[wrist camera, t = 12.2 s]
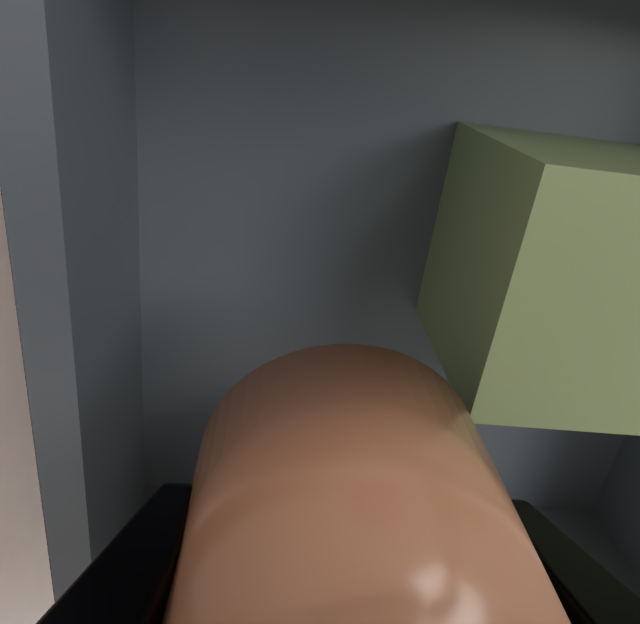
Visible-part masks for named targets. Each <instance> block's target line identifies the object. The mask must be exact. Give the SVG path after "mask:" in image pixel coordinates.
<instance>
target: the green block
mask: <svg viewBox="0 0 640 624" xmlns="http://www.w3.org/2000/svg"><path fill="white" fill-rule="evenodd" d="M416 312H417V315H418V317H419V319H420V321H421V323H422V325H423V327H424V330H425V332H426V334H427V336H428V338H429V340H430V342H431V345H432V347H433V349H434V351H435V353H436V355H437V358H438V360H439V362H440V364H441V366H442V368H443V370H444V373H445V375H446V377H447V379H448V381H449V383H450V385H451V386H452V387H453V388H454V389H455V390H456V392H457V393H458V394H459V396H460V397H461V399H462V400H463V402H464V403H465V406H466V408H467V410H468V412H469V414H470V416H471V418H472V420H473V422H474V424H488V425H501V426H515V427H528V428H542V429H555V430H569V431H582V432H596V433H609V434H623V435H636V436H640V145H636V144H628V143H620V142H613V141H605V140H597V139H589V138H582V137H574V136H566V135H559V134H551V133H543V132H536V131H528V130H520V129H513V128H505V127H497V126H489V125H482V124H474V123H466V122H459V121H458V123H457V128H456V132H455V137H454V141H453V146H452V150H451V155H450V159H449V163H448V168H447V172H446V177H445V181H444V186H443V190H442V195H441V199H440V204H439V208H438V213H437V217H436V221H435V226H434V230H433V235H432V239H431V244H430V248H429V253H428V257H427V262H426V266H425V271H424V275H423V280H422V284H421V289H420V293H419V298H418V302H417V307H416Z"/></svg>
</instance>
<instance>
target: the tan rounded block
mask: <svg viewBox="0 0 640 624" xmlns="http://www.w3.org/2000/svg"><path fill="white" fill-rule="evenodd" d="M192 484H193V487H192V492H191V497H190V502H189V507H188V512H187V517H186V521H185V526H184V531H183V535H182V540H181V545H180V549H179V554H178V558H177V562H176V567H175V570H174V575H173V579H172V583H171V587H170V591H169V595H168V599H167V603H166V607H165V611H164V615H163V619H162V623H161V624H571V622H570V620H569V618H568V616H567V614H566V612H565V610H564V608H563V606H562V604H561V602H560V600H559V598H558V595H557V593H556V591H555V589H554V587H553V585H552V583H551V581H550V579H549V577H548V575H547V573H546V571H545V569H544V567H543V565H542V562H541V560H540V558H539V556H538V554H537V552H536V550H535V548H534V546H533V544H532V542H531V540H530V538H529V536H528V534H527V531H526V529H525V527H524V525H523V523H522V521H521V519H520V517H519V515H518V513H517V511H516V509H515V507H514V505H513V503H512V501H511V498H510V496H509V494H508V492H507V490H506V488H505V486H504V484H503V482H502V480H501V478H500V476H499V474H498V472H497V470H496V467H495V465H494V463H493V461H492V459H491V457H490V455H489V453H488V451H487V449H486V447H485V445H484V443H483V441H482V439H481V437H480V434H479V432H478V430H477V428H476V426H475V424H474V422H473V420H472V418H471V416H470V414H469V412H468V410H467V408H466V406H465V403H464V402H463V400H462V399H461V397H460V396H459V394H458V393H457V392H456V390H455V389H454V388H453V387H452V386H451V385H450V384H449V383H448V382H447V381H446V380H445V379H444V378H443V377H442V376H441V375H440V374H438V373H437V372H436V371H434V370H433V369H432V368H430V367H429V366H427V365H425V364H423V363H422V362H420V361H418V360H416V359H415V358H412V357H410V356H407V355H405V354H402V353H400V352H397V351H393V350H390V349H386V348H382V347H377V346H370V345H363V344H329V345H319V346H314V347H310V348H305V349H300V350H297V351H294V352H291V353H288V354H285V355H282V356H280V357H277V358H275V359H273V360H271V361H269V362H267V363H265V364H263V365H261V366H260V367H258V368H256V369H255V370H253V371H252V372H250V373H249V374H247V375H246V376H245V377H243V378H242V379H241V380H240V381H239V382H237V383H236V384H235V385H234V386H233V387H232V388H231V389H230V390H229V391H228V392H227V393H226V395H225V396H224V397H223V398H222V399H221V401H220V402H219V403H218V405H217V406H216V408H215V409H214V411H213V412H212V415H211V417H210V419H209V421H208V423H207V425H206V428H205V431H204V435H203V438H202V442H201V446H200V451H199V455H198V460H197V464H196V469H195V473H194V478H193V482H192Z"/></svg>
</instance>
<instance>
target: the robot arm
mask: <svg viewBox="0 0 640 624" xmlns="http://www.w3.org/2000/svg"><path fill="white" fill-rule="evenodd" d="M192 487H193V484H191V483H186V482H165V483H163V484H162V485H161V486H160V487H159V488H158V489H157V490H156V491H155V492H154V493H153V494H152V496H151V497H150V498H149V499H148V500H147V501H146V502H145V503H144V504H143V506H142V507H141V508H140V509H139V510H138V511H137V512H136V513H135V514H134V516H133V517H132V518H131V519H130V520H129V521H128V522H127V523H126V524H125V525H124V527H123V528H122V529H121V530H120V531H119V532H118V533H117V534H116V535H115V537H114V538H113V539H112V540H111V541H110V542H109V543H108V544H107V545H106V547H105V548H104V549H103V550H102V551H101V552H100V553H99V554H98V555H97V557H96V558H95V559H94V560H93V561H92V562H91V563H90V564H89V565H88V567H87V568H86V569H85V570H84V571H83V572H82V573H81V574H80V575H79V576H78V578H77V579H76V580H75V581H74V582H73V583H72V584H71V585H70V586H69V588H68V589H67V590H66V591H65V592H64V593H63V594H62V595H61V596H60V598H59V599H58V600H57V601H56V602H55V603H54V604H53V605H52V606H51V608H50V609H49V610H48V611H47V612H46V613H45V614H44V615H43V616H42V618H41V619H40V620H39V621H38V622H37V623H36V624H161V623H162V619H163V615H164V611H165V607H166V603H167V599H168V595H169V591H170V587H171V583H172V579H173V575H174V570H175V567H176V562H177V558H178V554H179V549H180V545H181V540H182V535H183V531H184V526H185V521H186V517H187V512H188V507H189V502H190V497H191V492H192ZM511 501H512V503H513V505H514V507H515V509H516V511H517V513H518V515H519V517H520V519H521V521H522V523H523V525H524V527H525V529H526V531H527V534H528V536H529V538H530V540H531V542H532V544H533V546H534V548H535V550H536V552H537V554H538V556H539V558H540V560H541V562H542V565H543V567H544V569H545V571H546V573H547V575H548V577H549V579H550V581H551V583H552V585H553V587H554V589H555V591H556V593H557V595H558V598H559V600H560V602H561V604H562V606H563V608H564V610H565V612H566V614H567V616H568V618H569V620H570V622H571V624H640V598H639V597H638V596H637V595H636V594H635V593H634V592H632V591H631V590H630V589H629V588H628V587H627V586H625V585H624V584H623V583H622V582H621V581H620V580H618V579H617V578H616V577H615V576H614V575H613V574H611V573H610V572H609V571H608V570H607V569H606V568H604V567H603V566H602V565H601V564H600V563H599V562H597V561H596V560H595V559H594V558H593V557H592V556H590V555H589V554H588V553H587V552H586V551H585V550H583V549H582V548H581V547H580V546H579V545H578V544H576V543H575V542H574V541H573V540H572V539H571V538H569V537H568V536H567V535H566V534H565V533H564V532H562V531H561V530H560V529H559V528H558V527H557V526H555V525H554V524H553V523H552V522H551V521H550V520H548V519H547V518H546V517H545V516H544V515H543V514H541V513H540V512H539V511H538V510H537V509H536V508H534V507H533V506H532V505H531V504H530V503H528V502H527V501H525V500H521V499H511Z"/></svg>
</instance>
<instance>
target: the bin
mask: <svg viewBox="0 0 640 624" xmlns="http://www.w3.org/2000/svg"><path fill="white" fill-rule="evenodd" d="M458 121H459V122H466V123H474V124H482V125H489V126H497V127H505V128H513V129H520V130H528V131H536V132H543V133H551V134H559V135H566V136H574V137H582V138H589V139H597V140H605V141H613V142H620V143H628V144H636V145H640V0H0V187H1V195H2V202H3V210H4V218H5V225H6V233H7V241H8V248H9V256H10V263H11V271H12V279H13V286H14V294H15V302H16V309H17V317H18V325H19V332H20V340H21V348H22V355H23V363H24V370H25V378H26V386H27V393H28V401H29V409H30V416H31V424H32V432H33V439H34V447H35V455H36V462H37V470H38V477H39V485H40V493H41V500H42V508H43V516H44V523H45V531H46V539H47V546H48V554H49V562H50V569H51V577H52V584H53V592H54V600H55V602H56V601H57V600H58V599H59V598H60V596H61V595H62V594H63V593H64V592H65V591H66V590H67V589H68V588H69V586H70V585H71V584H72V583H73V582H74V581H75V580H76V579H77V578H78V576H79V575H80V574H81V573H82V572H83V571H84V570H85V569H86V568H87V567H88V565H89V564H90V563H91V562H92V561H93V560H94V559H95V558H96V557H97V555H98V554H99V553H100V552H101V551H102V550H103V549H104V548H105V547H106V545H107V544H108V543H109V542H110V541H111V540H112V539H113V538H114V537H115V535H116V534H117V533H118V532H119V531H120V530H121V529H122V528H123V527H124V525H125V524H126V523H127V522H128V521H129V520H130V519H131V518H132V517H133V516H134V514H135V513H136V512H137V511H138V510H139V509H140V508H141V507H142V506H143V504H144V503H145V502H146V501H147V500H148V499H149V498H150V497H151V496H152V494H153V493H154V492H155V491H156V490H157V489H158V488H159V487H160V486H161V485H162V484H163V483H165V482H186V483H191V484H192V482H193V478H194V473H195V469H196V464H197V460H198V455H199V451H200V446H201V442H202V438H203V435H204V431H205V428H206V425H207V423H208V421H209V419H210V417H211V415H212V412H213V411H214V409H215V408H216V406H217V405H218V403H219V402H220V401H221V399H222V398H223V397H224V396H225V395H226V393H227V392H228V391H229V390H230V389H231V388H232V387H233V386H234V385H235V384H236V383H237V382H239V381H240V380H241V379H242V378H243V377H245V376H246V375H247V374H249V373H250V372H252V371H253V370H255V369H256V368H258V367H260V366H261V365H263V364H265V363H267V362H269V361H271V360H273V359H275V358H277V357H280V356H282V355H285V354H288V353H291V352H294V351H297V350H300V349H305V348H310V347H314V346H319V345H329V344H363V345H370V346H377V347H382V348H386V349H390V350H393V351H397V352H400V353H402V354H405V355H407V356H410V357H412V358H415V359H416V360H418V361H420V362H422V363H423V364H425V365H427V366H429V367H430V368H432V369H433V370H434V371H436V372H437V373H438V374H440V375H441V376H442V377H443V378H444V379H445V380H446V381H447V382H448V383H449V381H448V379H447V377H446V375H445V373H444V370H443V368H442V366H441V364H440V362H439V360H438V358H437V355H436V353H435V351H434V349H433V347H432V345H431V342H430V340H429V338H428V336H427V334H426V332H425V330H424V327H423V325H422V323H421V321H420V319H419V317H418V315H417V312H416V307H417V302H418V298H419V293H420V289H421V284H422V280H423V275H424V271H425V266H426V262H427V257H428V253H429V248H430V244H431V239H432V235H433V230H434V226H435V221H436V217H437V213H438V208H439V204H440V199H441V195H442V190H443V186H444V181H445V177H446V172H447V168H448V163H449V159H450V155H451V150H452V146H453V141H454V137H455V132H456V128H457V123H458ZM449 384H450V383H449ZM475 426H476V428H477V430H478V432H479V434H480V437H481V439H482V441H483V443H484V445H485V447H486V449H487V451H488V453H489V455H490V457H491V459H492V461H493V463H494V465H495V467H496V470H497V472H498V474H499V476H500V478H501V480H502V482H503V484H504V486H505V488H506V490H507V492H508V494H509V496H510V498H511V499H521V500H525V501H527V502H528V503H530V504H531V505H532V506H533V507H534V508H536V509H537V510H538V511H539V512H540V513H541V514H543V515H544V516H545V517H546V518H547V519H548V520H550V521H551V522H552V523H553V524H554V525H555V526H557V527H558V528H559V529H560V530H561V531H562V532H564V533H565V534H566V535H567V536H568V537H569V538H571V539H572V540H573V541H574V542H575V543H576V544H578V545H579V546H580V547H581V548H582V549H583V550H585V551H586V552H587V553H588V554H589V555H590V556H592V557H593V558H594V559H595V560H596V561H597V562H599V563H600V564H601V565H602V566H603V567H604V568H606V569H607V570H608V571H609V572H610V573H611V574H613V575H614V576H615V577H616V578H617V579H618V580H620V581H621V582H622V583H623V584H624V585H625V586H627V587H628V588H629V589H630V590H631V591H632V592H634V593H635V594H636V595H637V596H638V597H639V598H640V436H636V435H623V434H609V433H596V432H582V431H569V430H555V429H542V428H528V427H515V426H501V425H488V424H475Z"/></svg>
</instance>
